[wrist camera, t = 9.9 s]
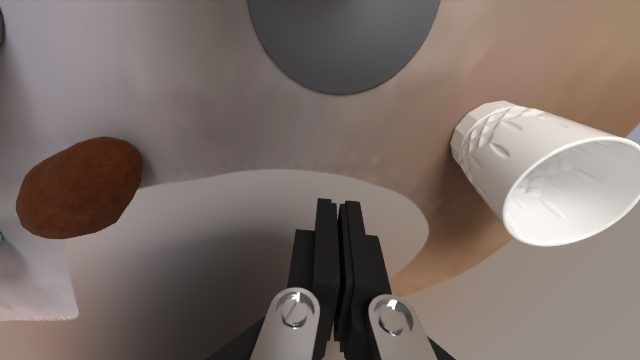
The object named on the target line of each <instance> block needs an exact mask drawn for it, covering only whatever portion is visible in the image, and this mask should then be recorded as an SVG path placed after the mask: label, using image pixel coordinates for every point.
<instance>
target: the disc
mask: <svg viewBox="0 0 640 360" xmlns="http://www.w3.org/2000/svg"><path fill="white" fill-rule="evenodd" d="M247 1H248V5H249V10H250V15H251V18H252V21H253V24H254V27H255V30H256V32H257V34H258V36H259V39H260V41H261V42H262V44H263V46H264V48H265V49H266V51H267V53H268V54H269V55H270V57H271V58H272V59H273V60H274V62H275V63H276V64H277V65H278V66H279V67H280V68H281V69H282V70H283V71H284V72H285V73H286V74H288V75H289V76H290V77H291V78H293V79H294V80H296V81H297V82H299V83H301V84H303V85H305V86H307V87H309V88H311V89H314V90H318V91H321V92H326V93H332V94H347V93H355V92H359V91H363V90H367V89H369V88H372V87H374V86H377V85H379V84H380V83H382V82H384V81H386V80H387V79H389V78H390V77H392V76H393V75H395V74H396V73H397V72H398V71H399V70H400V69H402V68H403V67H404V66H405V65H406V64H407V63H408V62H409V61H410V59H411V58H412V57H413V56H414V55H415V53H416V52H417V51H418V49H419V48H420V47H421V45H422V44H423V42H424V40H425V38H426V37H427V35H428V33H429V31H430V29H431V26H432V24H433V22H434V20H435V17H436V14H437V11H438V7H439V4H440V0H247Z"/></svg>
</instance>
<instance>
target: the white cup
mask: <svg viewBox="0 0 640 360" xmlns="http://www.w3.org/2000/svg"><path fill="white" fill-rule="evenodd" d="M450 145H451V150H452V155H453V158H454V159H455V161H456V162H457V163H458V164H459V166H460V167H461V168H462V169H463V171H464V173H465V175H466V177H467V178H468V180H469V181H470V182H471V184H472V185H473V187H474V188H475V190H476V191H477V192H478V193H479V195H480V196H481V197H482V199H483V200H484V201H485V202H486V204H487V205H488V206H489V208H490V209H491V210H492V211H493V213H494V214H495V215H496V217H497V218H498V219H499V221H500V222H501V223H502V224H503V226H504V227H505V228H506V230H507V231H508V232H509V233H510V235H512V236H513V237H514V238H515V239H517V240H519V241H521V242H523V243H526V244H530V245H534V246H558V245H565V244H569V243H573V242H577V241H580V240H583V239H586V238H588V237H590V236H593V235H595V234H597V233H599V232H601V231H603V230H604V229H606V228H608V227H609V226H611V225H613V224H614V223H615V222H617V221H618V220H619V219H621V218H622V217H623V216H624V215H626V214H627V213H628V212H629V211H630V210H631V209H632V207H634V205H635V204H636V203H637V202H638V201H639V199H640V146H639V145H638V144H636V143H635V142H633V141H630V140H628V139H625V138H622V137H619V136H616V135H613V134H610V133H607V132H604V131H601V130H598V129H595V128H592V127H589V126H586V125H583V124H580V123H577V122H574V121H571V120H568V119H565V118H562V117H559V116H556V115H553V114H551V113H547V112H543V111H540V110H537V109H534V108H526V107H522V106H520V105H516V104H513V103H510V102H507V101H497V102H490V103H485V104H483V105H481V106H479V107H477V108H476V109H474V110H472V111H471V112H469V113H467V114H466V115H465V117H464V118H463V119H462V120H461V121H460V123H459V124H458V125H457V126H456V127H455V130H454V133H453V136H452V139H451V142H450Z"/></svg>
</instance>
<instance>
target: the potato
mask: <svg viewBox="0 0 640 360" xmlns="http://www.w3.org/2000/svg"><path fill="white" fill-rule="evenodd" d="M141 172H142V160H141V155H140V153H139V152H138V151H137V149H136V148H135V147H134V146H132V145H131V144H129V143H128V142H126V141H123V140H120V139H117V138H111V137H99V138H94V139H90V140H86V141H83V142H80V143H77V144H75V145H73V146H71V147H69V148H68V149H66V150H63V151H61V152H59V153H57V154H55V155H53V156H51V157H49V158H47V159H46V160H44V161H42V162H41V163H39V164H38V165H36V166H35V167H33V168H32V169H31V170H30V171H29V172H28V173H27V174H26V176H25V178H24V180H23V183H22V185H21V188H20V191H19V194H18V198H17V201H16V212H17V214H18V217H19V220H20V222H21V225H22V226H23V227H24V228H25V229H27V230H28V231H29V232H31V233H32V234H34V235H37V236H40V237H44V238H48V239H66V238H73V237H77V236H82V235H86V234H91V233H96V232H98V231H100V230H102V229H104V228H106V227H108V226H110V225H112V224H114V223H116V222H117V220H118V219H119V218H120V216H121V215H122V213H123V212H124V210H125V209H126V207H127V206H128V205H129V203H130V202H131V200H132V199H133V197H134V195H135V193H136V191H137V189H138V186H139V184H140V182H141Z"/></svg>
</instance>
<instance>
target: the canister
mask: <svg viewBox="0 0 640 360" xmlns="http://www.w3.org/2000/svg"><path fill="white" fill-rule="evenodd" d="M2 37H3V23H2V17H1V14H0V45H1V42H2Z"/></svg>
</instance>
